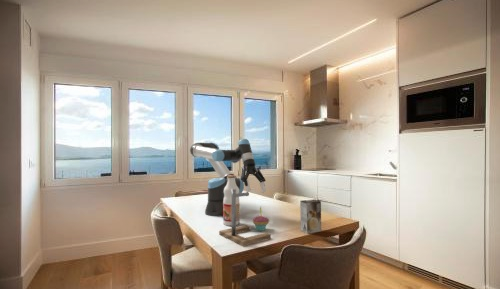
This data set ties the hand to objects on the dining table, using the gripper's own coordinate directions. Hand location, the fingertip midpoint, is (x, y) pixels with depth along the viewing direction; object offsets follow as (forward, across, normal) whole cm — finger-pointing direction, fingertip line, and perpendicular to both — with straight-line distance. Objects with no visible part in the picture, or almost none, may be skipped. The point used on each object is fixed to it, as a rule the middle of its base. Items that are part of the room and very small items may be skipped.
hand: (256, 191), depth 167 cm
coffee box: (+32, +7, -23) cm, 40 cm away
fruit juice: (+16, -14, +13) cm, 25 cm away
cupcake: (+24, -10, -4) cm, 27 cm away
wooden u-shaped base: (+27, -24, -5) cm, 37 cm away
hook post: (+26, -27, -6) cm, 38 cm away
